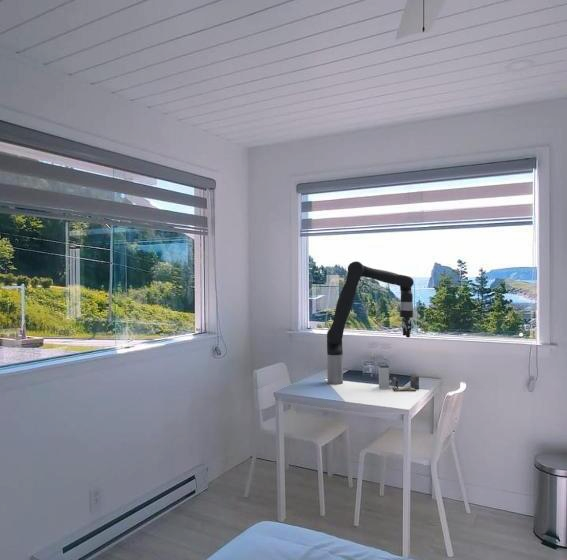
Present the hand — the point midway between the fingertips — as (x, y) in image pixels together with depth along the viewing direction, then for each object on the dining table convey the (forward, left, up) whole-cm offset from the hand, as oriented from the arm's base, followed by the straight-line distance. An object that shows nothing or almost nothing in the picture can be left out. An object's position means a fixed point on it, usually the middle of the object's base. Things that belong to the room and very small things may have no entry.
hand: (406, 336), depth 291 cm
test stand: (-4, -15, -28) cm, 32 cm away
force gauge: (-16, -13, -28) cm, 35 cm away
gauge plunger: (-9, -15, -27) cm, 32 cm away
